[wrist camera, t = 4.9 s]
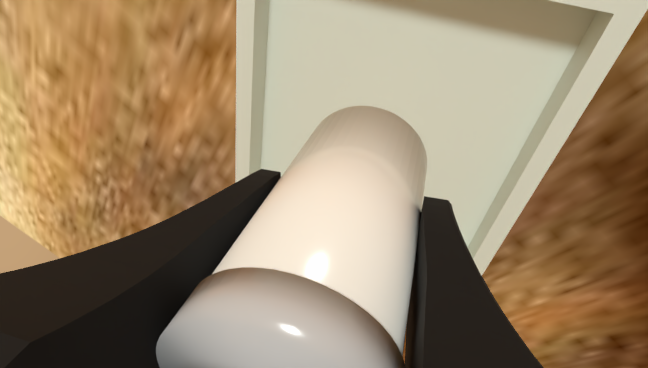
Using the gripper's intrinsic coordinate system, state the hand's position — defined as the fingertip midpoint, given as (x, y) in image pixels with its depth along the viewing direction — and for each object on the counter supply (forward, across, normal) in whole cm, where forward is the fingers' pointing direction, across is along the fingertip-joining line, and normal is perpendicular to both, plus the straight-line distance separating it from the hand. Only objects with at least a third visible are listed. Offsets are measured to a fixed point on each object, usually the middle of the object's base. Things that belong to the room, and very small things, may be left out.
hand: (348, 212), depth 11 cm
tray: (+9, 0, +1) cm, 9 cm away
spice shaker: (+2, 0, 0) cm, 3 cm away
